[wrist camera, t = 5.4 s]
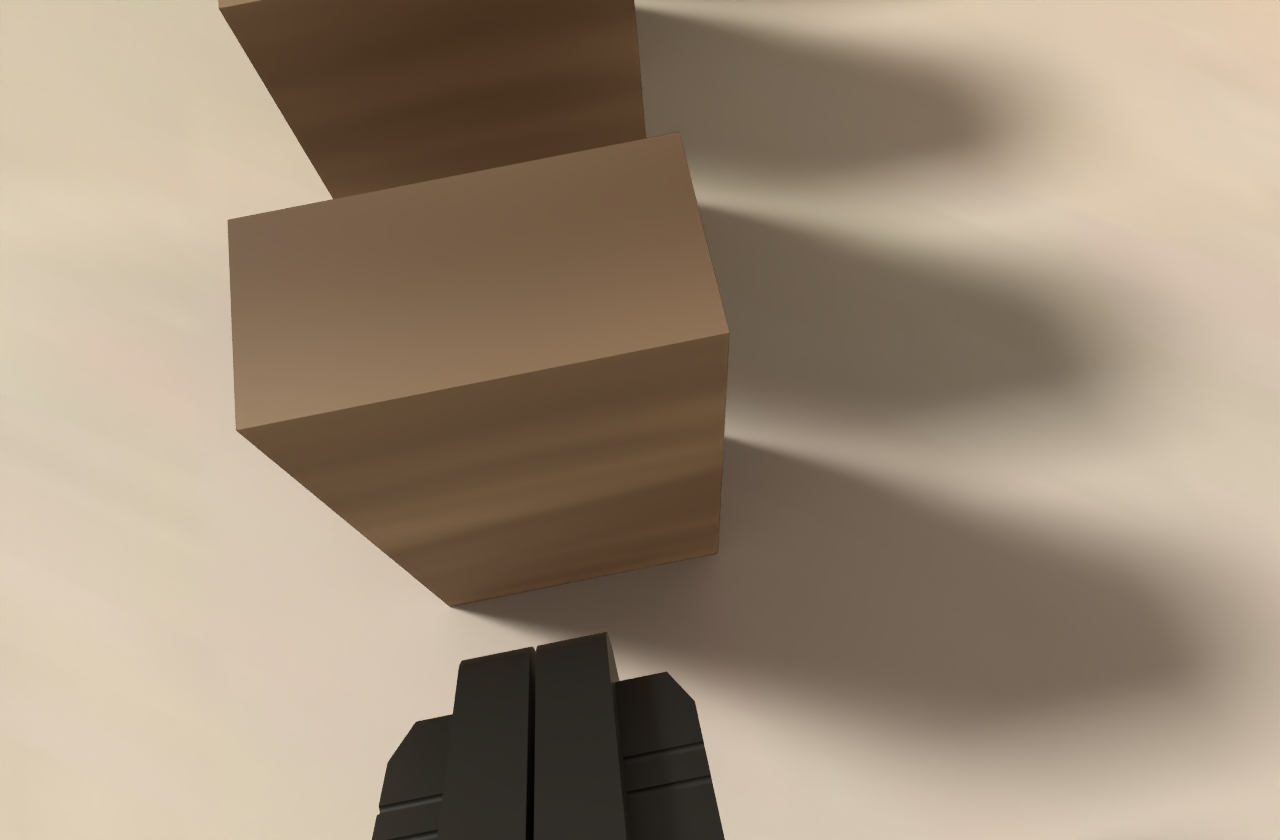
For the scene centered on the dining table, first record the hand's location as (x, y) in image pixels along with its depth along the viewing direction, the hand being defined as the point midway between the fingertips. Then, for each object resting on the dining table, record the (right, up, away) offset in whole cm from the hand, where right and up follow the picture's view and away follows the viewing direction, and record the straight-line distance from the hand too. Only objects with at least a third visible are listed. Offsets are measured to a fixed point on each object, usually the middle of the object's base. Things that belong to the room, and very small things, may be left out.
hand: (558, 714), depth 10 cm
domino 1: (-1, +6, +11) cm, 12 cm away
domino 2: (0, +1, +8) cm, 9 cm away
